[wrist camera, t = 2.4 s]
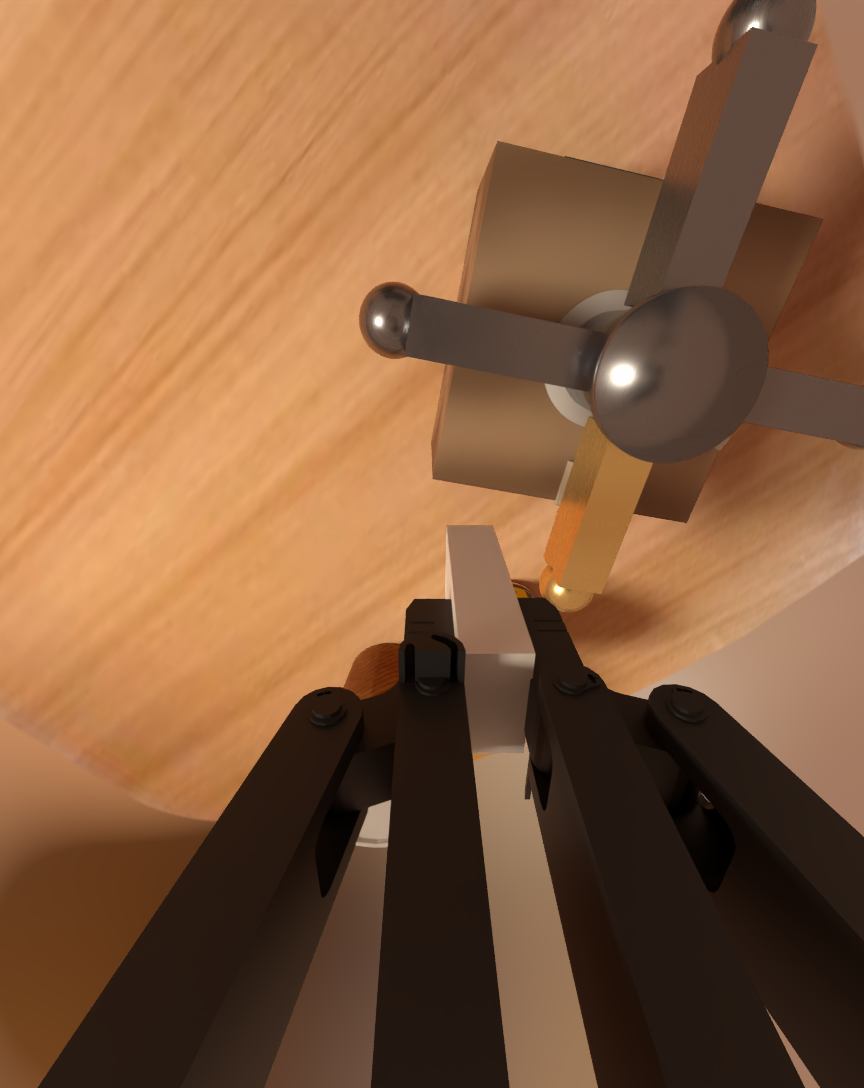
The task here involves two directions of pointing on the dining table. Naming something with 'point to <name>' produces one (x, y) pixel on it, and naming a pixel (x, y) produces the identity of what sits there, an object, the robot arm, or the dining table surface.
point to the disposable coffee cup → (367, 680)
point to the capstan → (656, 313)
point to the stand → (576, 315)
